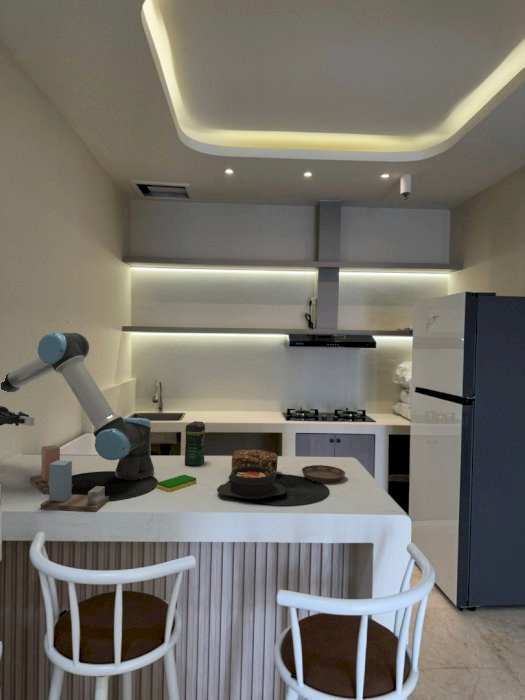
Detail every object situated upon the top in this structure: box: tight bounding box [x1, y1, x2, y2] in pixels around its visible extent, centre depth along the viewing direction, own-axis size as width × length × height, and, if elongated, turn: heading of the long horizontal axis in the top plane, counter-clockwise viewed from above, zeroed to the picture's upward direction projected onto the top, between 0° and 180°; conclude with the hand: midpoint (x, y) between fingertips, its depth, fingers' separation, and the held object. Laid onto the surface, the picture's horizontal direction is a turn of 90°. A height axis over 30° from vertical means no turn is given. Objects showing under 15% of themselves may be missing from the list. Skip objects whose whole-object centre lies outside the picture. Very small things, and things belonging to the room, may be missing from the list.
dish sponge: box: [156, 474, 197, 493], centre depth 173 cm, size 7×14×2 cm, turn 142°
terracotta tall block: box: [41, 444, 61, 482], centre depth 172 cm, size 5×5×12 cm
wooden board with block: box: [39, 485, 110, 513], centre depth 151 cm, size 18×10×6 cm, turn 86°
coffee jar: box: [184, 420, 206, 466], centre depth 203 cm, size 10×8×19 cm
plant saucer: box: [301, 464, 346, 484], centre depth 187 cm, size 18×18×3 cm
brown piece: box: [29, 474, 75, 495], centre depth 171 cm, size 18×10×6 cm, turn 41°
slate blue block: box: [48, 459, 73, 502], centre depth 152 cm, size 5×5×12 cm
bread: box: [231, 449, 279, 477], centre depth 189 cm, size 19×11×10 cm, turn 86°
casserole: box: [216, 466, 287, 500], centre depth 165 cm, size 25×19×8 cm
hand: (32, 421), depth 166 cm, fingers closed
